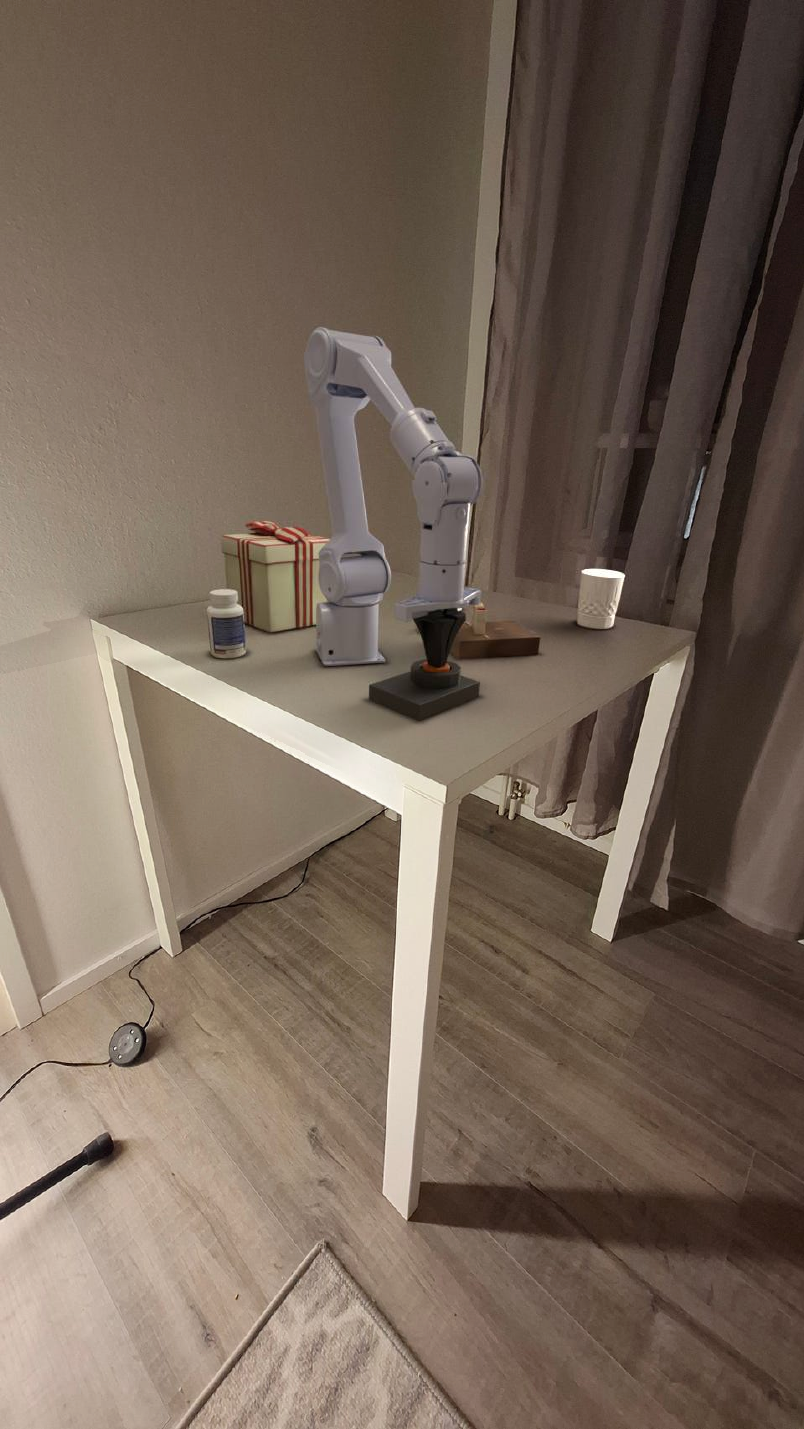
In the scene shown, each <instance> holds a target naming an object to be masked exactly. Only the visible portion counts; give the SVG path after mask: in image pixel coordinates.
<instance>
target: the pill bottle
mask: <svg viewBox="0 0 804 1429" xmlns="http://www.w3.org/2000/svg"><path fill="white" fill-rule="evenodd" d="M209 601H210V603H212V604H210V605H209V606H208V607H207V608H206V618H207V619H206V620H207V629H208V639H209V647H210V649H209V650H210V654H211V656H213V657H215V658H219V659H234V658H239V657H242V656H244V655H245V654H246V653H247V643H246V628H245V627H246V626H245V623H244V612H243V608H242V607H241V606H240V605H238V604H237V601H238V594H237V591H235V590H230V589H227V588H221V589H220V588H219V589H213V590H211V591H209Z"/></svg>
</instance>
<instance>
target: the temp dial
mask: <svg viewBox="0 0 804 1429" xmlns="http://www.w3.org/2000/svg"><path fill="white" fill-rule="evenodd" d="M487 612H488V611H487V609H486V607H485V606H484V604H483V603H482V602H480V604H479V605H472V610H471V619H470V620H471V621H470V623H471V627H472V629H473V632H474V634H475V635H484V634H485V623H486V622H487Z"/></svg>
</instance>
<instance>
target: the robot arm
mask: <svg viewBox="0 0 804 1429" xmlns="http://www.w3.org/2000/svg"><path fill="white" fill-rule="evenodd" d="M303 365H304V371H305V372H304V373H305V379H306V385H307V392H308V399H309V403H310V404H311V405H312V406H313V407H314V413H315V422H316V428H317V435H318V442H319V443H318V444H319V449H320V450H319V451H320V454H321V455H320V457H321V462H322V470H323V476H324V483H325V491H326V498H327V503H328V504H327V505H328V511H329V519H330V525H331V533H332V536H331V537H330V538H329V539H330V540H329V541H328V542H327V543H326V544H325V545H324V546H323V547H322V548H321V550H320V551H319V553H318V554H319V572H318V582H319V586H320V589H321V591H322V593H323V595H324V596H325V597H326V599H327V601H328V602H320V603H318V604H317V608H316V627H315V628H316V630H315V631H316V649H315V650H316V653H317V655H318V656H319V659H320V661H321V663H322V665H323V666H324V667H336V666H351V665H363V664H364V665H366V664H381V663H382V664H383V663H386V659H385V657H384V655H382V654H381V653H380V651H379V650H378V649H379V607H380V606H379V604H380V602H383V600H384V595H385V594H386V593H387V592H388V591H389V589H390V588H391V582H392V571H391V566H390V564H389V562H388V560H387V557H386V554H385V547H384V544H383V543H382V542H381V541H380V540H379V539H377V538H376V537H375V536H373V535H372V533H370V532H369V524H368V518H367V510H366V503H365V502H366V501H365V495H364V489H363V480H362V473H361V466H360V465H361V464H360V458H359V457H360V456H359V450H358V443H357V442H358V441H357V435H356V427H355V417H356V414H357V412H358V411H360V410H362V409H364V408H365V407H366V406H367V405H368V403H369V402H370V401H371V402H372V404H374V406H375V407H376V408H377V410H378V411H379V412H380V413H381V414H382V416H383V417H384V419H385V420H386V421H387V422H388V423H389V425H390V426H391V428H390V432H389V440H390V443H391V444H392V446H393V448H394V449H395V450H396V451H397V454H398V455H399V457H400V458H401V460H402V462H403V463H404V464H405V467H407V469H408V471H409V472H410V474H411V475H412V476H413V478H414V479H412V480H411V488H412V494H413V498H414V499H415V501H416V502H415V503H416V505H417V518H418V522H419V523H420V525H421V526H420V542H419V564H418V566H419V567H418V585H417V586H418V587H417V588H418V589H417V594H415V595H413V596H411V597H408V598H406V599H405V600H403V601H399V602H396V603H394V620H396V621H400V622H404V623H410V622H412V621H413V622H414V625H415V626H416V628H417V630H418V633H419V635H420V638H421V640H422V646H423V648H424V653H425V658H426V659H427V663H428V665H431V666H434V667H437V668H440V667H443V666H445V664H446V662H447V661H448V660H449V655H450V653H451V651H450V649H451V647H452V644H453V641H454V639H455V637H456V635H457V633H458V631H459V629H460V628H461V626H462V625H463V623H466V622H467V621H466V620H467V613H466V612H464V611H461V610H460V611H458V608H459V609H460V608H462V609H465V608H468V607H469V606H470V605H472V606H473V605H479V604H480V603H481V595H482V590H481V589H479V588H478V589H477V588H472V587H467V588H465V578H466V576H465V574H466V564H467V563H466V562H467V551H468V538H469V537H468V536H469V525H470V524H469V522H470V513H471V512H470V510H471V506H472V505H474V504H475V503H476V502H477V501H478V499H479V497H480V495H481V493H482V488H483V476H482V470H481V467H480V466H479V464H478V461H477V460H476V458H474V457H473V456H471V455H469V454H468V455H467V454H462V453H461V451H457V450H456V447H455V444H453V442H452V441H450V440H449V439H448V437H447V436H446V434H445V433H444V432H443V430H442V429H441V427H440V425H439V424H438V423H437V422H436V421H437V416H436V415H435V413H434V411H433V410H427V409H426V408H423V407H415V406H414V404H413V403H412V400H411V399H410V397H409V395H408V394H407V392H406V390H405V388H404V387H403V385H402V383H401V381H400V380H399V378H398V376H397V375H396V372H395V370H394V369H393V367H392V351H391V350H390V349H389V348H388V347H387V345H386V343H385V341H384V339H382V338H381V337H380V336H377V335H369V336H368V335H364V334H362V335H361V334H357V333H352V332H351V333H350V332H345V331H338V330H332V329H328V328H326V327H323V326H319V327H317V328H315V329H313V331H312V333H311V335H310V336H309V338H308V341H307V344H306V348H305V351H304V354H303ZM344 555H345V557H342V556H344ZM346 555H357V556H346Z"/></svg>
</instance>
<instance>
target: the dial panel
mask: <svg viewBox="0 0 804 1429" xmlns="http://www.w3.org/2000/svg"><path fill="white" fill-rule="evenodd" d="M540 643H541V636H540V635H538V634H536V633H535V632H533V631H531V630H530V629H528V628H527V627H525V626H523V625H521V623H519V622H517V621H515V620H500V621H499V620H498V621H486V623H485V634H484V635H475V634H474V632H473V629H472V627H471V622H467V621H466V622H464V623H463V625H462V626H461V628H460V629H459V631H458V633H457V635H456V637H455V639H454V641H453V644H452V647H451V649H450V653H451V654H452V655H454V656H455V657H456V659H458V660H465V659H467V660H468V659H482V658H498V657H499V658H500V657H502V658H503V657H516V656H531V655H539V650H540V645H541V644H540Z"/></svg>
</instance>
